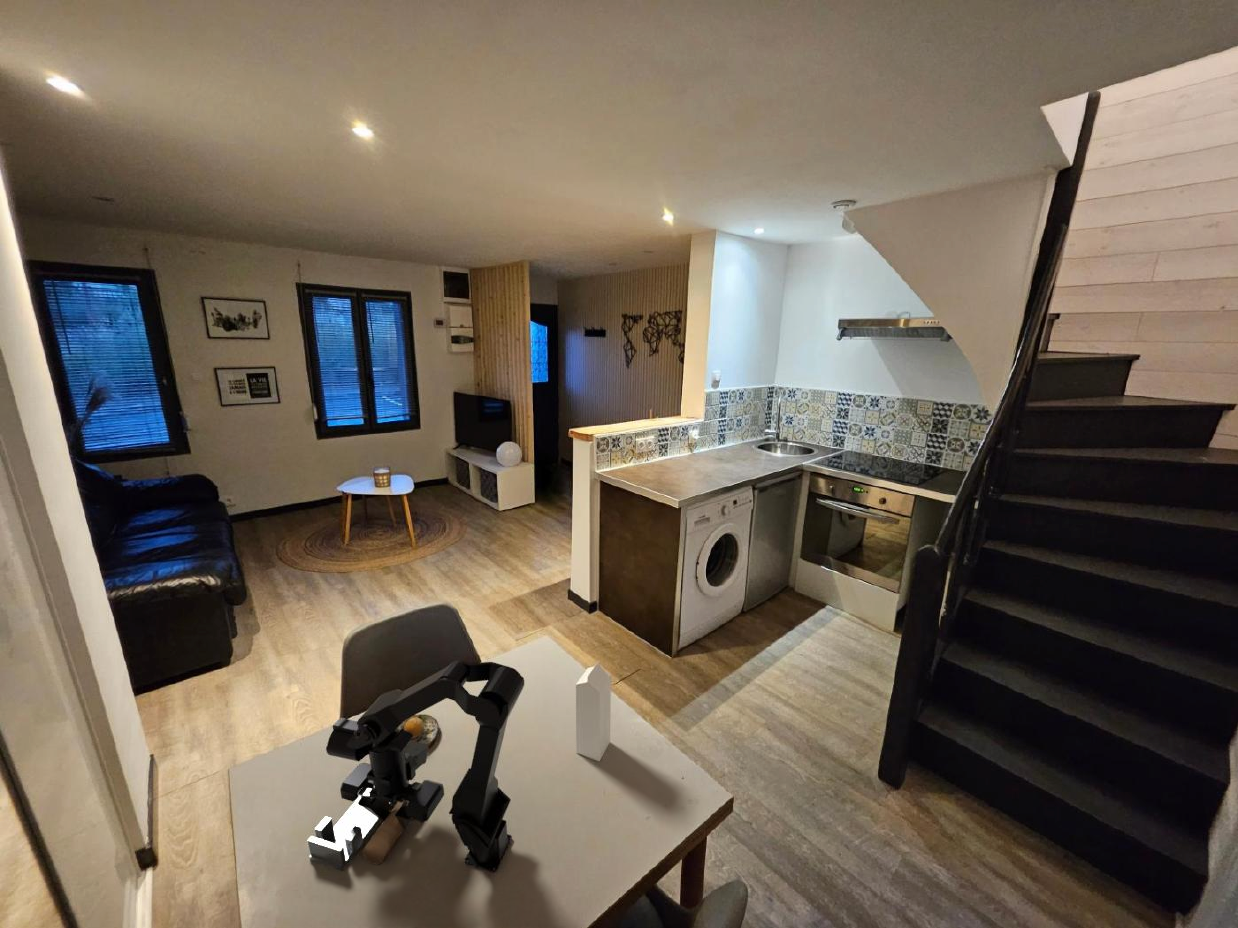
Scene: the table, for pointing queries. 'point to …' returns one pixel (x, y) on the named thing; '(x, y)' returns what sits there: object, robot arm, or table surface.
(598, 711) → the milk
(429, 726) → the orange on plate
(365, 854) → the cylinder
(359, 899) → the table surface
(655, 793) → the table surface
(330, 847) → the cradle
